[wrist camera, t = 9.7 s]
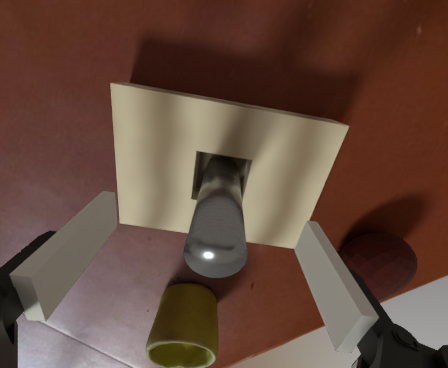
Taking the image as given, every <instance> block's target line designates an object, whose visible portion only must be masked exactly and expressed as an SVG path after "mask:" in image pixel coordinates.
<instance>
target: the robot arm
mask: <svg viewBox="0 0 448 368" xmlns="http://www.w3.org/2000/svg"><path fill="white" fill-rule="evenodd" d="M116 227H117V215H116V201H115V193H114V192H107V191H102V192H101V193H100V194H99V195H98V196H97V197H96V198H95V199H93V200H92V201H91V202H90V203H89V204H88V205H87V206H86V207H84V208H83V209H82V210H81V211H80V212H79V213H78V214H77V215H75V216H74V217H73V218H72V219H71V220H70V221H69V222H68V223H66V224H65V225H64V226H63V227H62V228H61V229H60V230H59V231H58V232H56V231H48V232H46V233H44V234H42V235H40V236H38V237H37V238H36V239H35V240H33V241H32V242H31V243H30V244H29V245H28V246H26V247H25V248H24V249H22V250H21V252H19V253H18V254H16V255H15V256H14V257H13V258H12V259H10V260H9V261H8V262H7V263H6V264H4V265H3V266H2V267H1V268H0V368H18V324H17V322H16V319H17V318H18V317H19V316H20V315H21V314H22V313H23V311H24V313H25V316H26V318H27V320H35V321H45V322H46V321H47V319H48V318H49V317H50V315H51V314H52V313H53V311H54V310H55V309H56V307H57V306H58V305H59V303H60V302H61V301H62V299H63V298H64V297H65V295H66V294H67V293H68V291H69V290H70V289H71V287H72V286H73V285H74V283H75V282H76V281H77V279H78V278H79V277H80V275H81V274H82V273H83V271H84V270H85V269H86V267H87V266H88V265H89V263H90V262H91V261H92V259H93V258H94V257H95V255H96V254H97V253H98V251H99V250H100V249H101V247H102V246H103V245H104V243H105V242H106V241H107V239H108V238H109V237H110V235H111V234H112V233H113V231H114V230H115V229H116ZM295 253H296V255H297V258H298V260H299V263H300V265H301V268H302V270H303V272H304V275H305V277H306V280H307V282H308V285H309V287H310V290H311V292H312V294H313V297H314V299H315V302H316V304H317V307H318V309H319V312H320V314H321V316H322V319H323V321H324V324H325V326H326V329H327V331H328V333H329V336H330V338H331V341H332V343H333V346H334V348H335V351H337V352H347V353H352V351H353V350H354V349H355V347H356V346H357V347H358V349H359V351H360V352H361V355H360V356H359V358H358V359H357V360H356V361H355V362H354V363H353V365H352V368H355V367H356V366H357V367H356V368H448V345H443V346H442V347H441V348H440V349H439V350H435V349H433V348H430V347H428V346H425V345H423V344H420V343H418V341H417V340H416V339H415V338H414V337H413V336H412V334H411V333H410V332H408V331H407V330H406V329H404V328H403V327H401V326H399V325H397V324H394V323H393V322H392V321H391V319H390V318H389V316H388V315H387V313H386V312H385V311H384V309H383V308H382V306H381V305H380V303H379V302H378V300H377V299H376V298H375V296H374V295H373V293H372V292H371V290H370V289H369V288H368V286H367V285H366V283H365V282H364V280H363V279H362V278H361V277H360V276H359V275H358V274H357V273H356V272H355V271H354V270H351V269H347V267H346V266H345V264H344V263H343V261H342V259H341V258H340V256H339V255H338V253H337V252H336V250H335V249H334V247H333V246H332V244H331V243H330V241H329V240H328V238H327V237H326V235H325V233H324V232H323V230H322V229H321V227H320V226H319V224H318V223H317V222H314V221H306V223H305V225H304V228H303V230H302V233H301V235H300V237H299V240H298V242H297V245H296V247H295Z"/></svg>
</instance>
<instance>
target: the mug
mask: <svg viewBox="0 0 448 368" xmlns="http://www.w3.org/2000/svg"><path fill="white" fill-rule="evenodd" d="M217 353H218V315H217V301H216V298H215V296H214V294H213V292H212V291H211V290H210V289H208V288H206V287H205V286H203V285H201V284H195V283H179V284H176V285H172V286H169V287H168V288H167V289H166V290H165V292H164V293H163V295H162V297H161V300H160V305H159V309H158V312H157V315H156V318H155V320H154V323H153V326H152V329H151V331H150V334H149V337H148V341H147V344H146V356H147V357H148V359H149V360H150V361H151V362H152V363H154V364H156V365H158V366H161V367H164V368H204V367H207V366H209V365H211V364H212V363H213V362H214V361H215V360H216V358H217Z"/></svg>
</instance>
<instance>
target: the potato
mask: <svg viewBox="0 0 448 368" xmlns="http://www.w3.org/2000/svg"><path fill="white" fill-rule="evenodd" d="M339 256H340V258H341V259H342V261H343V263H344V264H345V266H346V267H347V269H351V270H354V271H355V272H356V273H357V274H358V275H359V276H360V277H361V278H362V279H363V280H364V282H365V283H366V285H367V286H368V288H369V289H370V290H371V292H372V293H373V295H374V296H375V298H376V299H377V300H381V299H384V298H386V297H388V296H390V295H392V294H394V293H396V292H398V291H399V290H401V289H402V288H404V287H405V286H407V285H408V283H409V282H410V281H411V280H412V279H413V277H414V275H415V273H416V270H417V258H416V255H415V253H414V251H413V250H412V248H411V247H410V246H409V245H408V244H407V243H406V242H405V241H404V240H402V239H401V238H399V237H397V236H395V235H392V234H388V233H384V232H376V233H368V234H365V235H361V236H359V237H356V238H354V239H352V240H351V241H350V242H348V243H347V244H346V245H345V246H344V247H343V249H342V250H341V252H340V253H339Z"/></svg>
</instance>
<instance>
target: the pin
mask: <svg viewBox="0 0 448 368" xmlns="http://www.w3.org/2000/svg"><path fill="white" fill-rule="evenodd" d="M184 259H185V261H186V263H187V265H188V266H189V267H190V268H191V269H192V270H193V271H195V272H196V273H198V274H200V275H203V276H206V277H211V278H222V277H227V276H231V275H233V274H235V273H237V272H238V271H239V270H241V269H242V268H243V266H244V265H245V263H246V260H247V245H246V235H245V226H244V216H243V207H242V197H241V187H240V178H239V169H238V166H237V164H236V163H235V161H233V160H232V159H231V158H229V157H225V156H219V157H215V158H213V159H212V160H210V161H209V162H208V164H207V166H206V169H205V173H204V176H203V180H202V184H201V188H200V191H199V195H198V199H197V202H196V206H195V210H194V214H193V217H192V221H191V225H190V229H189V232H188V236H187V240H186V243H185V247H184Z"/></svg>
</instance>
